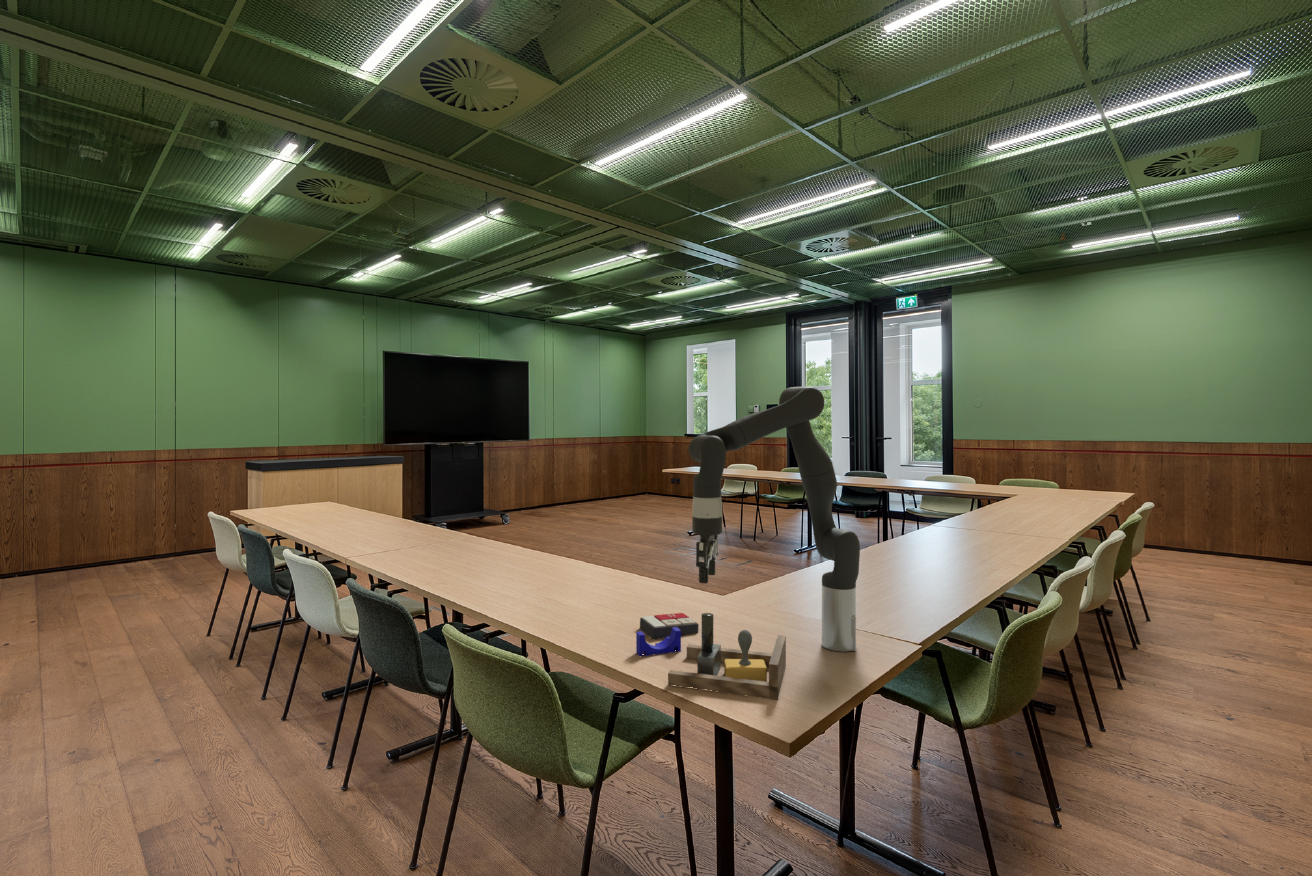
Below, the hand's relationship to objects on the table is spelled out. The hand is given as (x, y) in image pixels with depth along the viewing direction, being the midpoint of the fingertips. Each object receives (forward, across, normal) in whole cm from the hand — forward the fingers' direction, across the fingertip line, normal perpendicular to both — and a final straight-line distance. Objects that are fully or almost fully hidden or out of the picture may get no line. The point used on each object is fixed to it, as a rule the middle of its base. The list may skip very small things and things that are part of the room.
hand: (707, 578), depth 151 cm
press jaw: (+24, 0, 0) cm, 24 cm away
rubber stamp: (+24, 0, -10) cm, 26 cm away
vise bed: (+24, 0, -6) cm, 25 cm away
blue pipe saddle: (+24, +11, +16) cm, 31 cm away
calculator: (+25, +28, +18) cm, 41 cm away
